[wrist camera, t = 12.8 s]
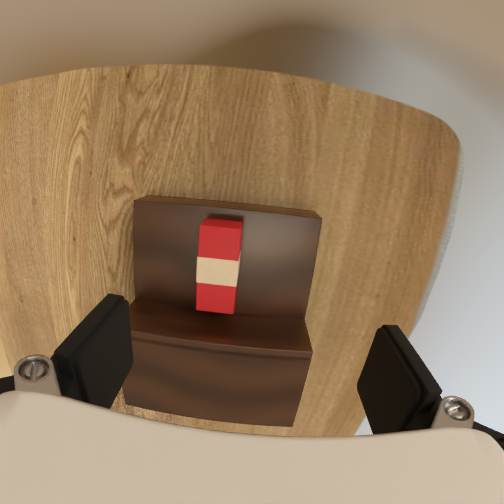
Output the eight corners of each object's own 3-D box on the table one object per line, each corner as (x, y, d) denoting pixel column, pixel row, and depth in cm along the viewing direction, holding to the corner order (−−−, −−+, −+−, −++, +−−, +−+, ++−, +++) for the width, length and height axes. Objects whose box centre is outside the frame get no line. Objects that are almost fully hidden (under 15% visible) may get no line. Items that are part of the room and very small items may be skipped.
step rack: (147, 195, 32) (105, 210, 22) (315, 211, 32) (337, 233, 22) (150, 354, 38) (125, 404, 28) (286, 370, 38) (292, 427, 28)
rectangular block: (205, 217, 28) (198, 224, 25) (243, 221, 28) (241, 229, 26) (200, 296, 31) (194, 310, 28) (236, 300, 31) (233, 315, 28)
